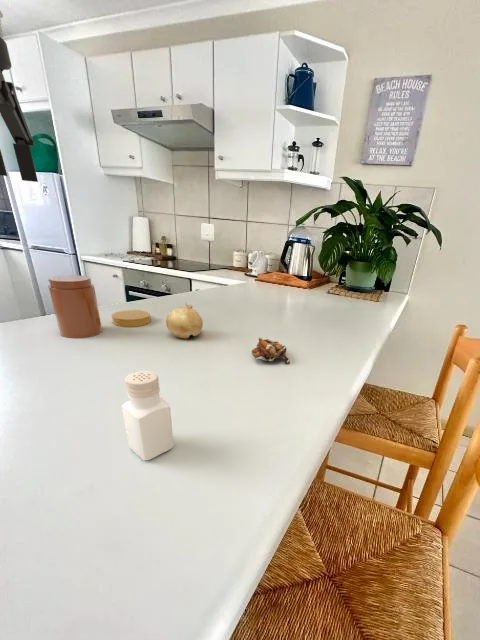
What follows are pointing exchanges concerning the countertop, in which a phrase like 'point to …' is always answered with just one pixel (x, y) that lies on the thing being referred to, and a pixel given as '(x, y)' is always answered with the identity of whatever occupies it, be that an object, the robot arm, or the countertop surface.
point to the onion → (184, 322)
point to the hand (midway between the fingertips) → (15, 178)
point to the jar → (75, 306)
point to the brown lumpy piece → (270, 350)
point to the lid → (131, 318)
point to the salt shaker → (147, 416)
